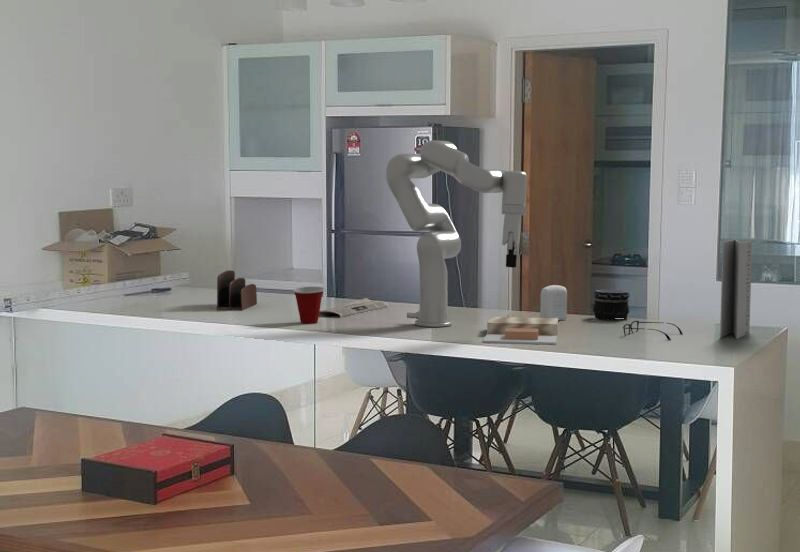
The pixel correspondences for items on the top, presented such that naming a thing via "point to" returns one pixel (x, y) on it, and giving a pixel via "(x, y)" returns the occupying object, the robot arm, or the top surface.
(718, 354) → the top surface
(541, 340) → the mat
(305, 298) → the plastic cup
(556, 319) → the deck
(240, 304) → the letter holder
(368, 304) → the newspaper
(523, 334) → the tile
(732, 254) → the brochure
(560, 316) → the photo printer
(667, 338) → the eyeglasses
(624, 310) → the container
